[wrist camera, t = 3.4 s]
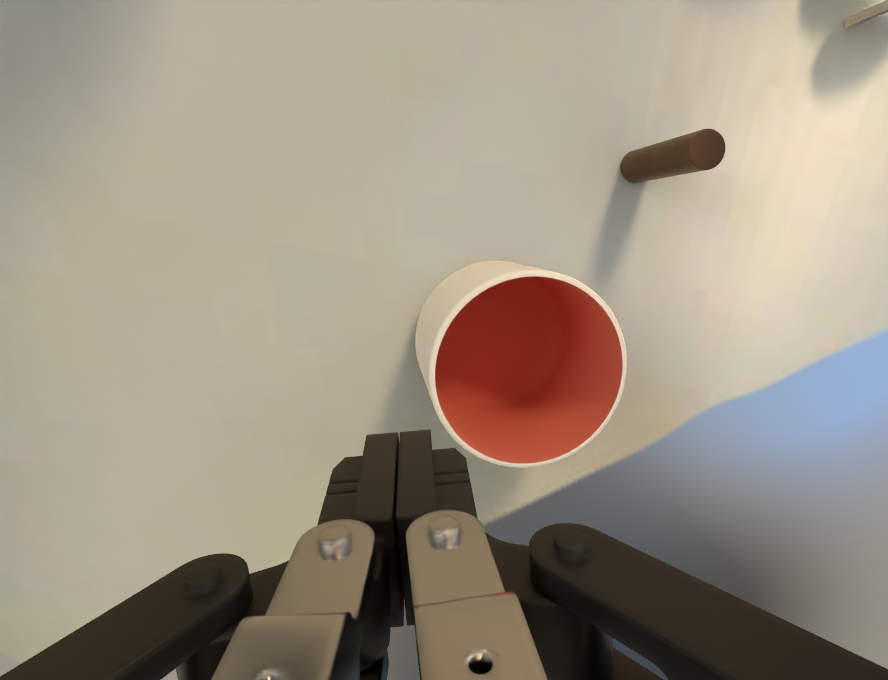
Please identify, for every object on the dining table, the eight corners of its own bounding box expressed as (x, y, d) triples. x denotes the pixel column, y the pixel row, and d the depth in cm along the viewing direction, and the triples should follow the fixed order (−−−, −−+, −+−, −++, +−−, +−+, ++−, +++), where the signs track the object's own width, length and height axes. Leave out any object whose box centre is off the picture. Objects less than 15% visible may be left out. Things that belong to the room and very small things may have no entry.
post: (617, 179, 36) (684, 166, 28) (624, 148, 36) (693, 125, 28) (646, 185, 37) (720, 172, 29) (653, 153, 36) (729, 132, 28)
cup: (422, 251, 36) (440, 259, 26) (572, 268, 37) (644, 281, 27) (406, 402, 37) (418, 463, 28) (550, 413, 39) (610, 474, 29)
